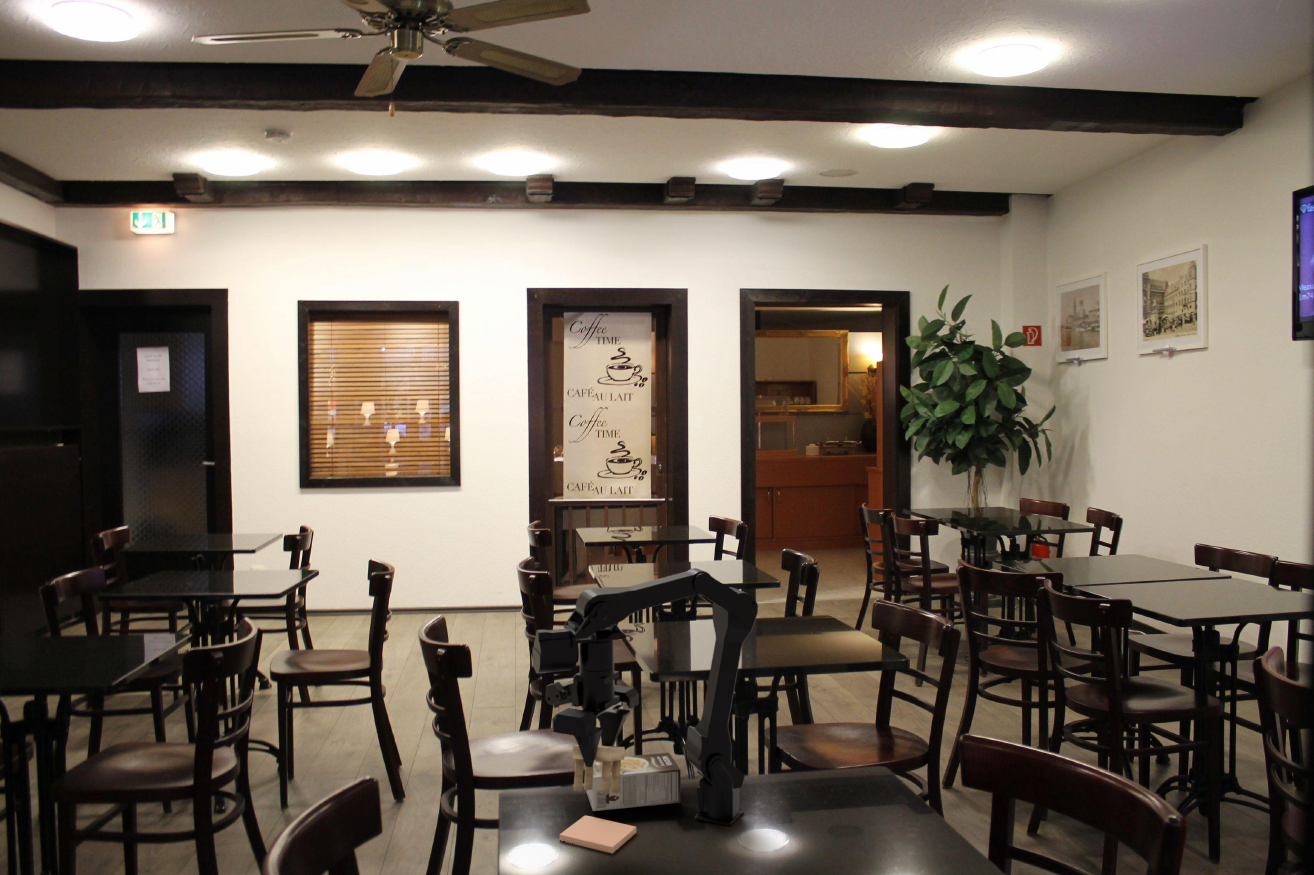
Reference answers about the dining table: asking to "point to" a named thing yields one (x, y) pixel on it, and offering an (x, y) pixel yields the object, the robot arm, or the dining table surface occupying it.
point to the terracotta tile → (598, 834)
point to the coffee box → (639, 783)
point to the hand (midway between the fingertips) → (597, 760)
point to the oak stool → (606, 756)
